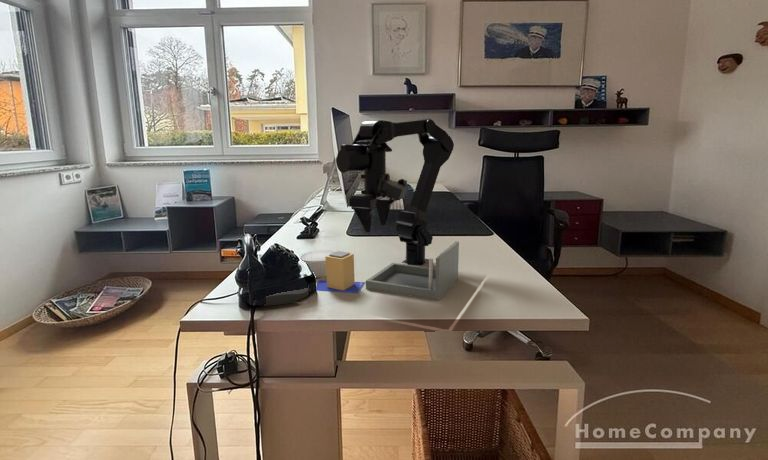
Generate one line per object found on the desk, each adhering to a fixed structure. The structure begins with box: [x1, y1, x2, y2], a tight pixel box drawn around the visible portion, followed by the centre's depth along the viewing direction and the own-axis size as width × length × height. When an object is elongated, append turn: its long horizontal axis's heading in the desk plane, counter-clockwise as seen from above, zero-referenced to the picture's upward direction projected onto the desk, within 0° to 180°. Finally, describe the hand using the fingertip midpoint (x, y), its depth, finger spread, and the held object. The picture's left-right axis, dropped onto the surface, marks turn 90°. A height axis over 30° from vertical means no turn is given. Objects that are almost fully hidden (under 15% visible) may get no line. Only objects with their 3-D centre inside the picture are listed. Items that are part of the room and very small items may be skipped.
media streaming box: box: [263, 286, 310, 307], centre depth 104 cm, size 15×15×3 cm
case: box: [365, 240, 460, 301], centre depth 107 cm, size 16×19×11 cm
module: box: [325, 250, 356, 291], centre depth 106 cm, size 5×5×8 cm
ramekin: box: [299, 249, 337, 279], centre depth 118 cm, size 11×11×5 cm
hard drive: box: [316, 279, 366, 294], centre depth 107 cm, size 2×8×12 cm
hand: (375, 228), depth 114 cm, fingers open, 9 cm apart
